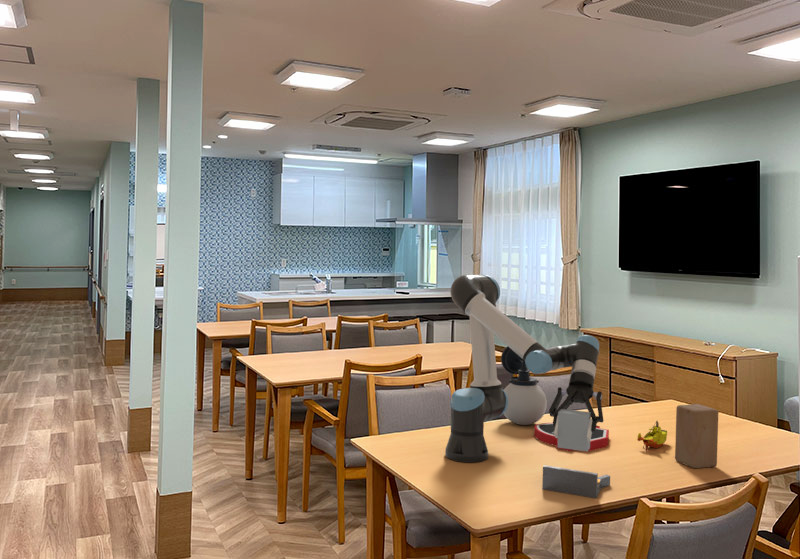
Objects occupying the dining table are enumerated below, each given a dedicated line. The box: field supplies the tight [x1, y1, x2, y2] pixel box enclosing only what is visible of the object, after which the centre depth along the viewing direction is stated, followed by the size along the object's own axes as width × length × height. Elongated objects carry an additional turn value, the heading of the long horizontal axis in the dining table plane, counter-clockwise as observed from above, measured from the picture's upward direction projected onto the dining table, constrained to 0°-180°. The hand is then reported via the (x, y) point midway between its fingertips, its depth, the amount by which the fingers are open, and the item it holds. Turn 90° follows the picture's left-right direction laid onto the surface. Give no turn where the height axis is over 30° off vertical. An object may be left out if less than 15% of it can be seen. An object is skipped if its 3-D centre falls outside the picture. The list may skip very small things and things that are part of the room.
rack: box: [541, 464, 611, 499], centre depth 199 cm, size 14×20×7 cm
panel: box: [558, 409, 592, 452], centre depth 197 cm, size 4×9×11 cm, turn 64°
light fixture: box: [500, 345, 548, 426], centre depth 276 cm, size 20×23×33 cm
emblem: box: [533, 422, 610, 452], centre depth 253 cm, size 30×4×30 cm
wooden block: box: [674, 403, 719, 469], centre depth 223 cm, size 10×10×20 cm
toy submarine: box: [636, 420, 668, 452], centre depth 244 cm, size 6×18×10 cm, turn 135°
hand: (572, 437), depth 194 cm, fingers closed on panel, 9 cm apart
